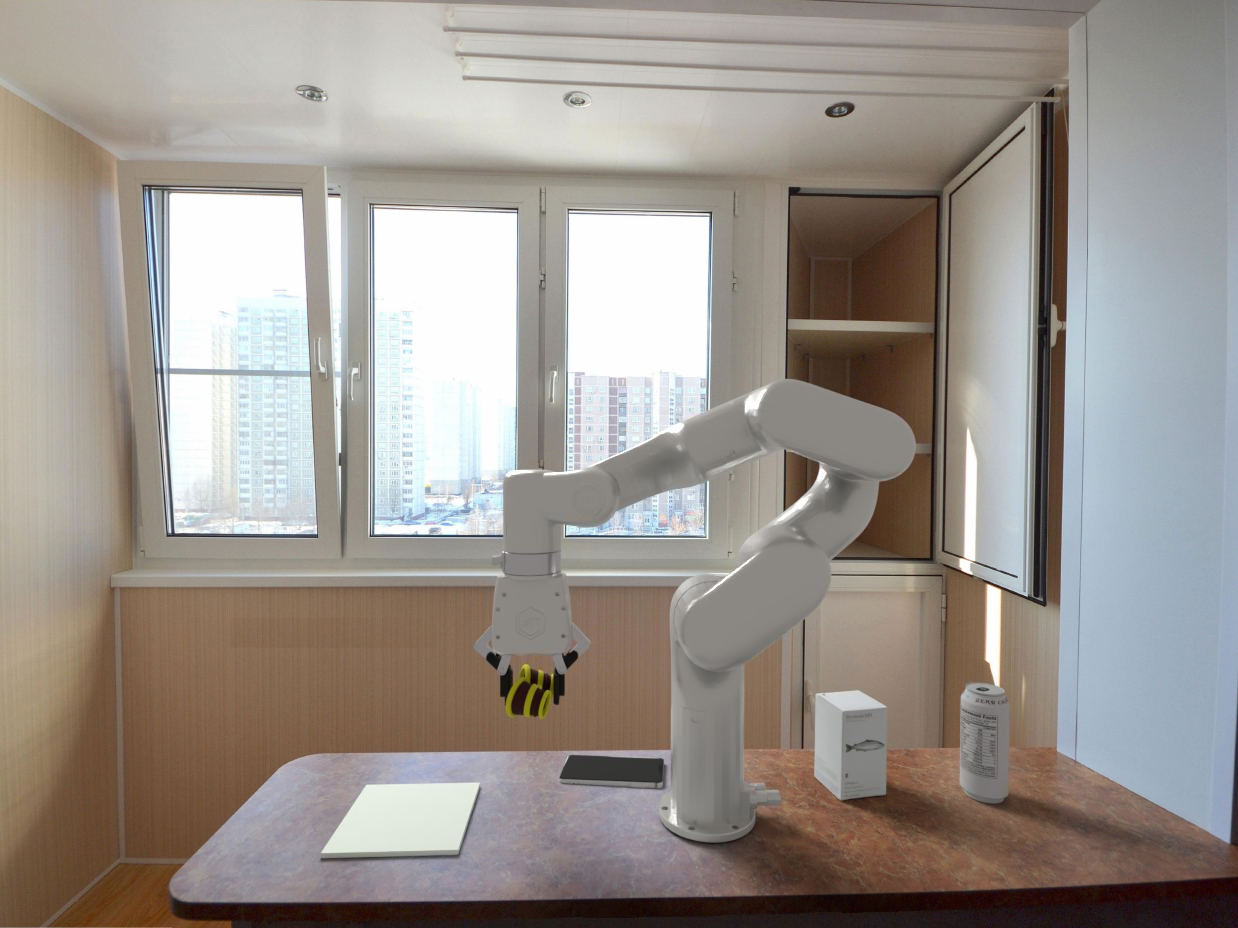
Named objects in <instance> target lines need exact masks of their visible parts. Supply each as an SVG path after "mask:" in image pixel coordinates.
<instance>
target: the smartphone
mask: <svg viewBox="0 0 1238 928" xmlns="http://www.w3.org/2000/svg"><path fill="white" fill-rule="evenodd" d="M664 768H665V759H663V758H661V757H640V756H638V757H637V756H612V755H611V756H610V755H609V756H608V755H588V754H586V755H580V754H569V755H567V757H566V760H565V762H564V765H563V767H562V770H561V773H560V775H559V777H558V778H559V779H558V781H559V783H562V784H570V785H571V784H572V785H573V783H575V785H590V784H591V785H592V786H593V785H595V786H614V787H628V788H637V789H638V788H640V789H641V788H642V789H648V788H649V789H651V788H652V789H660V788H663V786H664V770H665V769H664ZM578 783H579V784H578Z"/></svg>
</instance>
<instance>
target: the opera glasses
mask: <svg viewBox="0 0 1238 928" xmlns="http://www.w3.org/2000/svg"><path fill="white" fill-rule="evenodd" d="M553 675H554V673H551V674H549V673H548V672H546V673H545V672H544V671H543V670H540V669H538V670H536V669H533V668H531V667H530V665H529V664H528V663H527V664H523V665H522V667H521V669H520V672H519V675H518V679H517V680H515V681H514V682H513V686H512V688H511V690H510V692H509V694H508V697H507V700H506V706H505V712H506V715H507V717H509V718H515V717H517V716H523V717H524V718H531V717H534V718H536V717H538V718H539V720H544V719H545V718H546V716H547V715H548V712H549V709H550V705H551V701H553Z"/></svg>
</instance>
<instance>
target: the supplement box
mask: <svg viewBox="0 0 1238 928" xmlns="http://www.w3.org/2000/svg"><path fill="white" fill-rule="evenodd" d="M814 697H815V702H814V703H815V704H814V705H815V706H814V707H815V709H814V711H815V713H814V715H815V716H814V718H815V719H814V769H813V770H814V772H813V773H814V774H813V775H814V777H815V779H816V780H817V781H819V783H820V784H822V785H823V786H824V787H825V788H826V789H827V790H828V791H829V792H830V793H832V795H834V796H835V797H836V798H837V799H838V800H840V801H845V800H850V799H858V798H867V797H875V796H886V794H887V760H888V759H887V757H888V756H887V755H888V754H887V753H888V752H887V751H888V749H887V748H888V746H887V743H888V706H886V705H884V704H883V703H881V702H879V700H876V699H874V698H873V697H871V696H869V695H867V694H866V693H864V692H862V691H861V690H859V689H857V690H856V689H855V690H845V691H834V692H831V691H830V692H820V693H818V692H817V693H815V695H814Z"/></svg>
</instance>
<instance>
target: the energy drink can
mask: <svg viewBox="0 0 1238 928" xmlns="http://www.w3.org/2000/svg"><path fill="white" fill-rule="evenodd" d="M1005 693H1006V691H1005V689H1004V688H1002V687H1000V686H999V685H995V684H991V683H988V682H979V681H978V682H968V683H966V684H965V690H964V691H963V692H962V694H961V695H960V716H959V717H960V723H959V724H960V728H959V729H960V731H959V732H960V734H959V739H960V740H959V741H960V742H959V743H960V744H959V785H960V786H961V788H962V789H963V791H964V794H965V795H967V796H968V797H969V798H971V799H973V800H975V801H978V802H981V803H986V804H1001V803H1003V802H1004V801H1005V798H1006V797H1008V796H1009V794H1010V792H1009V791H1010V789H1009V787H1010V784H1009V783H1010V776H1009V775H1010V772H1009V771H1010V719H1011V718H1010V717H1011V715H1010V713H1011V712H1010V711H1011V708H1010V707H1011V705H1010V701H1009V700H1008V698H1007V696H1006V695H1005Z"/></svg>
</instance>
